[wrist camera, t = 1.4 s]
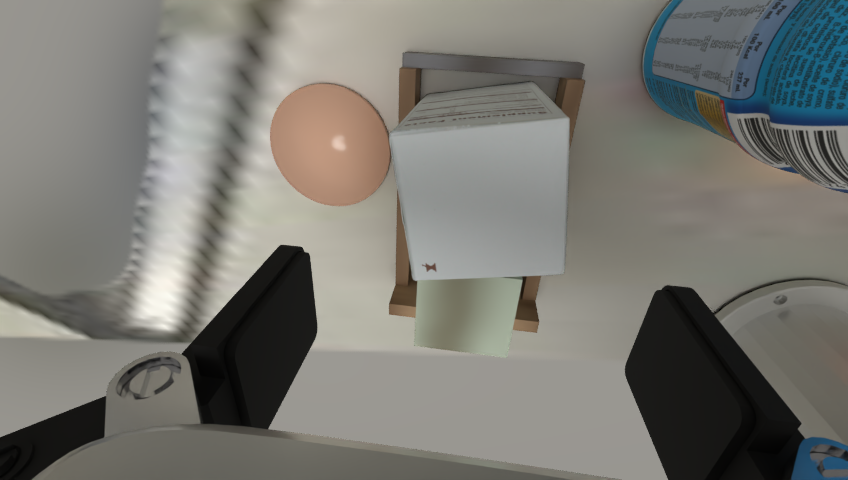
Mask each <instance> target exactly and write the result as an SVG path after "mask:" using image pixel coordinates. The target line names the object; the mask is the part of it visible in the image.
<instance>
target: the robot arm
mask: <svg viewBox="0 0 848 480" xmlns="http://www.w3.org/2000/svg"><path fill="white" fill-rule="evenodd" d="M316 334H317V318H316V309H315V299H314V290H313V281H312V271H311V262H310V255H309V253H306V252H304V250H303V248H302V247H298V246H289V245H280V246H279V247H278V248H277V249H276V250H275V251H274V252H273V253H272V255H271V256H270V257H269V258H268V259H267V260H266V261H265V262H264V263H263V265H262V266H261V267H260V268H259V269H258V270H257V271H256V272H255V273H254V275H253V276H252V277H251V278H250V279H249V280H248V281H247V282H246V283H245V285H244V286H243V287H242V288H241V289H240V290H239V291H238V292H237V293H236V294H235V295H234V296H233V297H232V299H231V300H230V301H229V302H228V303H227V304H226V305H225V306H224V307H223V309H222V310H221V311H220V312H219V313H218V314H217V315H216V316H215V317H214V318H213V320H212V321H211V322H210V323H209V324H208V325H207V326H206V327H205V328H204V330H203V331H202V332H201V333H200V334H199V335H198V336H197V337H196V338H195V340H194V341H193V342H192V343H191V344H190V345H189V346H188V347H187V348H186V349H185V351H184V352H183V353H182V354H180V353H175V352H158V353H154V354H149V355H146V356H144V357H141V358H139V359H137V360H135V361H133V362H131V363H130V364H128V365H126V366H125V367H123V368H122V369H121V370H120V371H119V372H118V373H116V374H115V376H114V377H113V378H112V380H111V381H110V382H109V385H108V388H107V391H106V396H105V397H102V398H100V399H97V400H94V401H92V402H89V403H87V404H84V405H82V406H79V407H76V408H74V409H71V410H69V411H66V412H64V413H61V414H59V415H56V416H54V417H51V418H48V419H46V420H44V421H41V422H38V423H36V424H33V425H31V426H28V427H25V428H23V429H20V430H18V431H15V432H13V433H10V434H8V435H5V436H3V437H0V480H620V479H614V478H607V477H601V476H594V475H587V474H581V473H574V472H567V471H561V470H554V469H548V468H541V467H534V466H527V465H520V464H513V463H507V462H499V461H493V460H486V459H479V458H472V457H465V456H458V455H451V454H444V453H438V452H431V451H424V450H417V449H409V448H403V447H396V446H388V445H382V444H374V443H367V442H360V441H353V440H346V439H339V438H331V437H324V436H317V435H310V434H302V433H294V432H285V431H277V430H269V429H268V428H269V426H270V424H271V422H272V420H273V419H274V417H275V415H276V413H277V411H278V408H279V407H280V405H281V403H282V401H283V399H284V397H285V395H286V394H287V392H288V390H289V388H290V386H291V384H292V382H293V380H294V378H295V376H296V374H297V372H298V370H299V369H300V367H301V365H302V363H303V361H304V359H305V357H306V355H307V353H308V351H309V350H310V348H311V346H312V344H313V342H314V340H315V338H316ZM625 375H626V379H627V381H628V384H629V386H630V389H631V391H632V393H633V396H634V398H635V401H636V403H637V405H638V408H639V410H640V413H641V415H642V417H643V420H644V422H645V425H646V427H647V429H648V432H649V434H650V437H651V439H652V442H653V444H654V446H655V449H656V451H657V454H658V456H659V458H660V461H661V463H662V466H663V468H664V470H665V473H666V475H667V478H668V480H848V286H845V285H841V284H838V283H834V282H830V281H821V280H795V281H789V282H783V283H777V284H773V285H770V286H767V287H763V288H760V289H757V290H755V291H753V292H750V293H748V294H746V295H744V296H741V297H740V298H738V299H736V300H735V301H733V302H731V303H730V304H728V305H727V306H725V307H724V308H723V309H722V310H721V311H719V312H718V313H717V314H716V315H714V314H713V313H712V312H711V310H710V309H709V308H708V307H707V305H706V304H705V303H704V302H703V300H702V299H701V298H700V297H699V295H698V294H697V293H696V292H695V291H694V290H693V289H692V288H688V287H678V286H669V285H667V286H665V287H664V288H662V290H657V291H656V292H655V294H654V296H653V298H652V301H651V303H650V306H649V308H648V310H647V313H646V315H645V318H644V320H643V323H642V325H641V328H640V330H639V333H638V335H637V338H636V340H635V343H634V345H633V348H632V350H631V353H630V355H629V358H628V360H627V362H626V366H625Z"/></svg>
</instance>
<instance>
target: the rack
mask: <svg viewBox="0 0 848 480" xmlns="http://www.w3.org/2000/svg"><path fill="white" fill-rule="evenodd" d="M584 65H585V64H582V63H579V62H563V61H547V60H531V59H515V58H499V57H483V56H467V55H451V54H435V53H419V52H405V53H403V67H402V68H400V73H399V124H400V123H401V121H402V120H403V119H404V118H405V117H406V116H407V115H408V114H409V113H410V112H411V111H412V109H413V108H414V107H415V106H416V105H417V104H418V103H419V102H420V88H421V68H425V69H440V70H455V71H470V72H486V73H501V74H516V75H531V76H546V77H560V80H559V85H558V90H557V95H556V100H555V104H556V105H557V106H558V107H559V108H560V109H561V110H562V111H563V113H564V114H565V115H566V116H567V117H569V119H570V138H569V150H570V146H571V141H572V137H573V132H574V128H575V124H576V119H577V115H578V110H579V106H580V101H581V97H582V93H583V88H584V84H585V80H583V79H582V74H583V70H584ZM540 278H541V276H519V277H495V278H469V279H444V280H420V281H415V280H413V278H412V271H411V265H410V259H409V253H408V247H407V241H406V235H405V229H404V225H403V221H402V215H401V207H400V200H399V194H398V189H397V241H396V285H395V288H394V291H393V294H392V297H391V300H390V303H389V314H390V315H398V316H406V317H414V318H416V319H415V339H414V346H420V347H428V348H436V349H443V350H451V351H458V352H466V353H474V354H481V355H489V356H497V357H504V358H507V355H508V350H509V345H510V340H511V335H512V331H513V330H519V331H527V332H535V333H537V329H538V325H539V319H538V313H537V308H536V303H535V300H536V295H537V291H538V287H539V282H540Z"/></svg>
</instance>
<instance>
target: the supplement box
mask: <svg viewBox="0 0 848 480" xmlns="http://www.w3.org/2000/svg"><path fill="white" fill-rule="evenodd" d="M569 138H570V119H569V117H567V116H566V115H565V114H564V113H563V111H562V110H561V109H560V108H559V107H558V106H557V105H556V104H555V103H554V102H553V101H552V100H551V99H550V98H549V97H548V96H547V95H546V94H545V93H544V92H543V91H542V90H541V89H540V88H539V87H538V86H537V85H536V84H535V83H534V82H533V81H528V82H521V83H513V84H506V85H498V86H490V87H482V88H473V89H465V90H457V91H449V92H441V93H434V94H427V95H426V96H425V97H424V98H423V99H422V100H421V101H420V102H419V103H418V104H417V105H416V106H415V107H414V108H413V109H412V111H411V112H410V113H409V114H408V115H407V116H406V117H405V118H404V119H403V120H402V121H401V123H400V124H399V125H398V126H397V127H396V128H395V129H394V130H392V131H391V132H390V134H389V143H390V148H391V154H392V160H393V165H394V171H395V177H396V183H397V189H398V194H399V200H400V207H401V215H402V221H403V225H404V229H405V235H406V241H407V247H408V253H409V259H410V265H411V271H412V278H413V280H415V281H420V280H444V279H469V278H495V277H519V276H545V275H559V274H563V273H564V271H565V259H566V238H567V212H568V177H569Z"/></svg>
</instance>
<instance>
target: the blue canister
mask: <svg viewBox="0 0 848 480" xmlns="http://www.w3.org/2000/svg"><path fill="white" fill-rule="evenodd" d="M643 77H644V82H645V85H646V88H647V90H648V93H649V94H650V96H651V98H652V99H653V100H654V102H655V103H656V104H657V105H658V106H659V107H660V108H661V109H663V110H664V111H665V112H667V113H669V114H671V115H673V116H675V117H677V118H679V119H682V120H685V121H688V122H691V123H693V124H696V125H698V126H700V127H703V128H705V129H707V130H709V131H711V132H713V133H715V134H718V135H720V136H722V137H724V138H726V139H728V140H730V141H732V142H734V143H736V144H738V145H739V146H740V147H741V148H742V149H743V150H744V151H745V152H747V153H748V154H749V155H751V156H752V157H754V158H756V159H757V160H759V161H761V162H763V163H765V164H768V165H770V166H773V167H775V168H778V169H781V170H785V171H788V172H792V173H797V174H800V175H802V176H803V177H805V178H807V179H808V180H810V181H812V182H814V183H816V184H818V185H821V186H823V187H826V188H829V189H832V190H836V191H840V192H844V193H848V0H672V1H671V2H670V3H669V4H668V5H667V6H666V7H665V9H664V10H663V11H662V13H661V14H660V16H659V17H658V19H657V20H656V22H655V24H654V25H653V27H652V29H651V32H650V34H649V36H648V39H647V42H646V45H645V49H644V54H643Z"/></svg>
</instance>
